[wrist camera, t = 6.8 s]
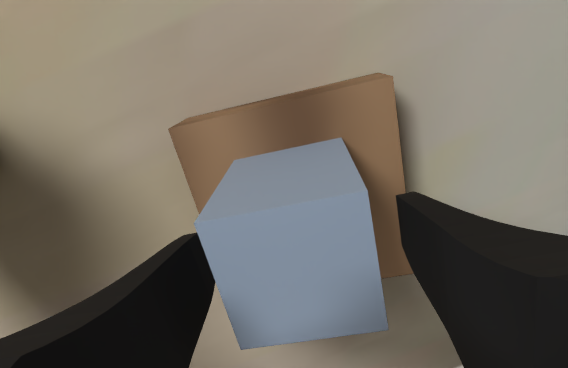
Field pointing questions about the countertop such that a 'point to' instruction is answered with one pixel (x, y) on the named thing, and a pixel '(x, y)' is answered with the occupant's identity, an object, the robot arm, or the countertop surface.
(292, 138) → the base
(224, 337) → the countertop surface
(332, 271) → the block
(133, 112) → the countertop surface
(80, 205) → the countertop surface
